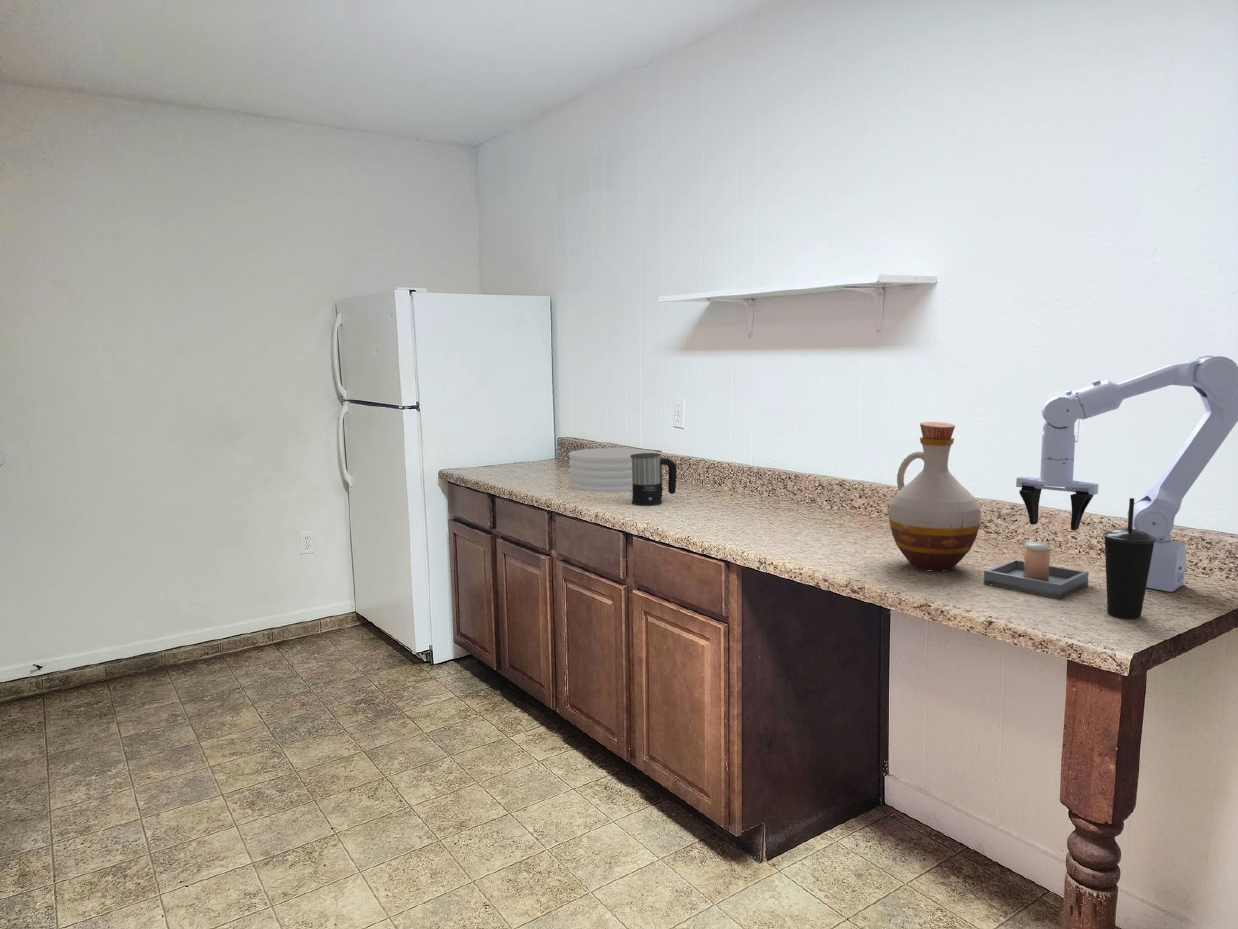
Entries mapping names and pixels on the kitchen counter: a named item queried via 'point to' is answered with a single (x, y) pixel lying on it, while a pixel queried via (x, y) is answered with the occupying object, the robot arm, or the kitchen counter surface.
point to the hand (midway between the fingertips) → (1053, 526)
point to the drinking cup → (1127, 568)
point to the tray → (1057, 587)
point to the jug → (933, 506)
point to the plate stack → (602, 469)
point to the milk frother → (650, 478)
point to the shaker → (1036, 561)
